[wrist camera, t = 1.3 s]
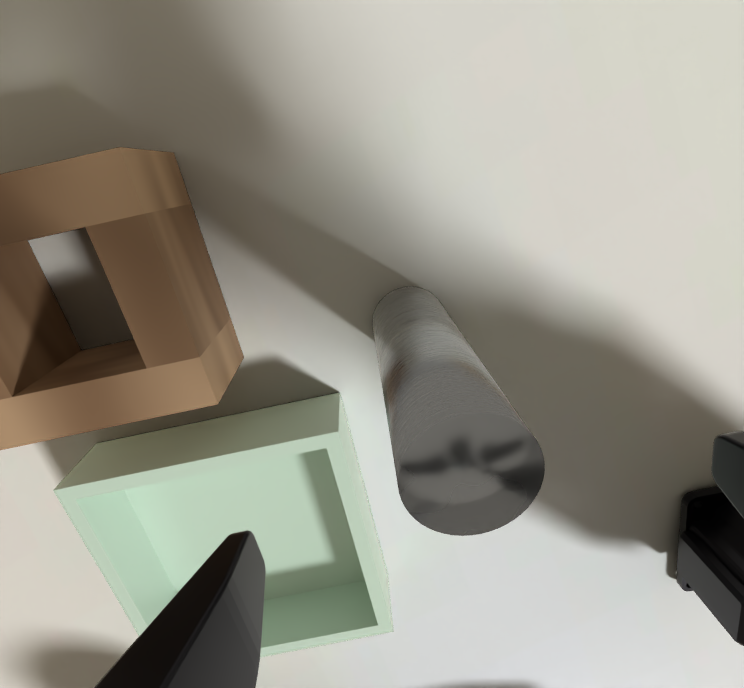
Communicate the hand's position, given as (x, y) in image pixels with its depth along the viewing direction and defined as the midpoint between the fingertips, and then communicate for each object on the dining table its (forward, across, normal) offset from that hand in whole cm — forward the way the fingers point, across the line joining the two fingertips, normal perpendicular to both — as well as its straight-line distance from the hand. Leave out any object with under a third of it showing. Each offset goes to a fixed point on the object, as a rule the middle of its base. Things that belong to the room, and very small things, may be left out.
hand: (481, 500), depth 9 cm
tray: (+10, +9, +8) cm, 16 cm away
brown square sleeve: (+10, +11, -4) cm, 16 cm away
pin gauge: (+11, 0, 0) cm, 11 cm away
